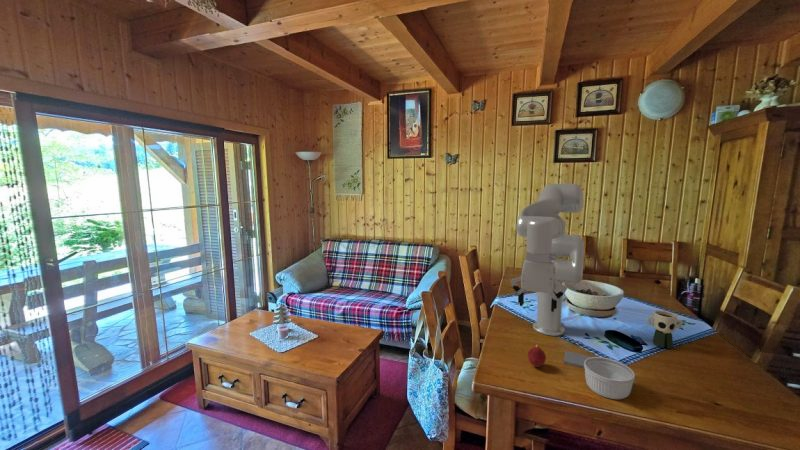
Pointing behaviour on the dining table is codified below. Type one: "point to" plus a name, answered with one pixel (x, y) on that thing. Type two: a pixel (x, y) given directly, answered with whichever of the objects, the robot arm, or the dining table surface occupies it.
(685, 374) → the dining table surface
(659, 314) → the character mug
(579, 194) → the robot arm
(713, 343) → the dining table surface
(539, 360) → the onion
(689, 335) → the dining table surface
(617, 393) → the ramekin
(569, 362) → the coaster
